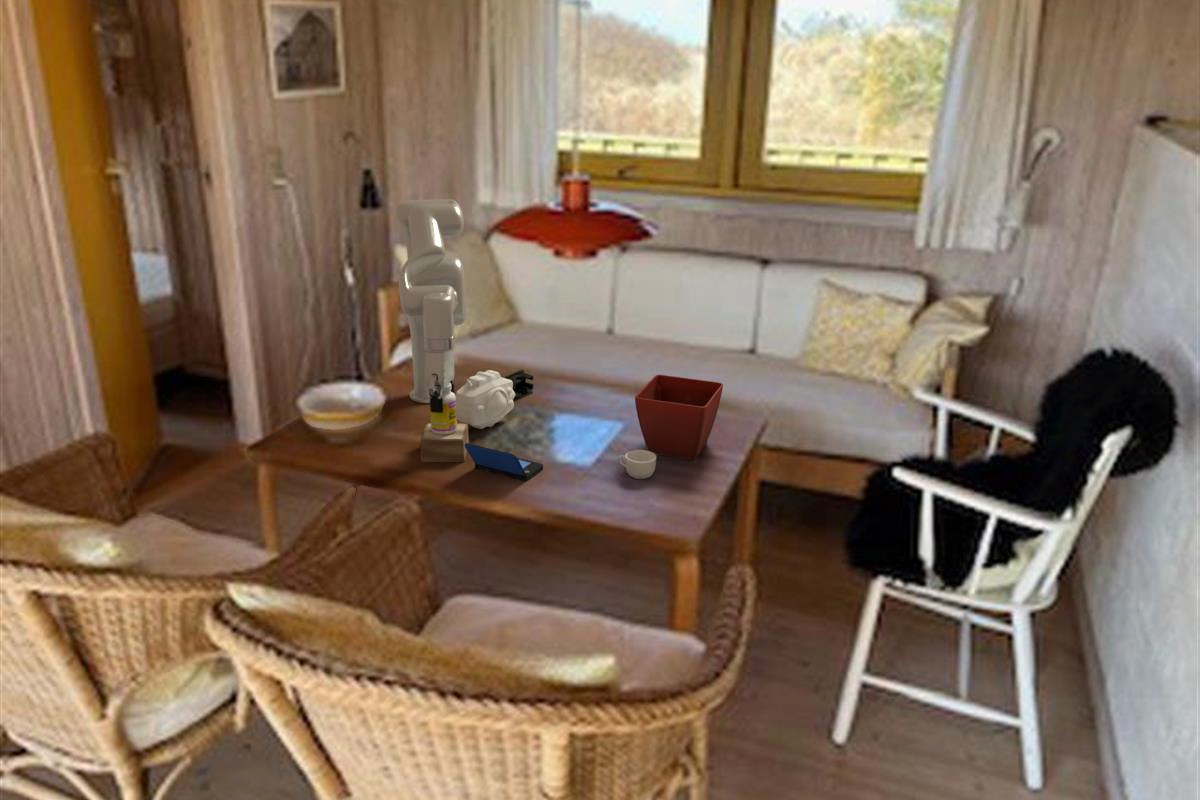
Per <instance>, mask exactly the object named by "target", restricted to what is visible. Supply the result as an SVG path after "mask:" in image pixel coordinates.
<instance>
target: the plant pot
mask: <svg viewBox="0 0 1200 800" xmlns="http://www.w3.org/2000/svg"><path fill="white" fill-rule="evenodd" d="M723 389H724V383H723V382H719V381H713V380H712V381H710V380H703V379H697V378H696V379H695V378H688V377H681V376H673V375H668V374H667V375H666V374H656V375H654V376H653V377H652V378H651V379H650V380H649V381H648V382H647V383H646V384H645V385H644V386H643V387H642V388H641V389H640V390H639V391H638V392H637V393H636V394H635V395H634V402H635V409H636V414H637V419H638V423H639V428H640V431H641V434H642V437H643V440H644V442H645V446H646V449H647V451H650V452H652V453H654V454H655V455H659V456H666V457H673V458H678V459H684V460H691V461H693V460H695V459H696V458H697V457H698V456H699V454H700V453H701V452H702V450H703V449H704V447H705V445H706V444H707V443H708V440H709V437H710V435H711V432H712V430H713V426H714V424H715V420H716V417H717V415H718V414H717V413H718V411H719V407H720V403H721V399H722V394H723Z"/></svg>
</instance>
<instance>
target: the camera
mask: <svg viewBox="0 0 1200 800" xmlns="http://www.w3.org/2000/svg"><path fill="white" fill-rule="evenodd" d="M455 396H456V415H457V421H458V422H462V423H463V424H468V425H470V426H471V427H472V428H475V429H478V430H482V429H485V428H487V427H489V428H492V427H494V425H495V424H496V423H499V422H500V421H501V420H502V419H503V418H504V417H506V415H508V413H510V412H511V411H512V410H513V409H514V407H515V404H514V401H513V399H514V397H515V392H514V391H513V382H512V381H511V380H509V379H505V378H502V376H501V374H500V372H498V371H495V370H491V369H490V370H486V371H477V372H476V374H475V375H474V376H473V375H472V376H470V377H469V378H466V383H465V384H464V385H463V386H461V387H460V388H459V389H458V390H456V393H455Z"/></svg>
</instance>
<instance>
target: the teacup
mask: <svg viewBox="0 0 1200 800" xmlns="http://www.w3.org/2000/svg"><path fill="white" fill-rule="evenodd" d="M621 458H622V459H623V460H624V462H622V460H621ZM617 462H618V463H619V464H620V466H622V467H624V468H625V470H626V472H627V474H628V475H629V477H631V478H633V479H636V480H645V479H647V478H650V477H651V476H652V475H653V474H654V472H655V470H656V467H657V466H656V464H657V454H654V453H652V452H650V451H648V450H645V449H634V450H633V449H632V450H629V451H627V452H625V455H623V454H622V455H619V456H618V459H617Z"/></svg>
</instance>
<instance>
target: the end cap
mask: <svg viewBox="0 0 1200 800" xmlns="http://www.w3.org/2000/svg"><path fill="white" fill-rule="evenodd" d="M501 377H502V376H501ZM502 378H505V379H509V380H511V381H512V382H513V391H514V392H515V397H514V399H513V402H517V401H520V400H521V399H524V398H526V397H528V396H530V395H532V394H533V393H534V392H533V390H534V383H531V382H527V380H530V381H534V375H533V374H529V373H527V372H525V370H524V369H519V370H518V371H517V370H516V371H514V372H512V373H510V374H507V375H505V376H503V377H502Z"/></svg>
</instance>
